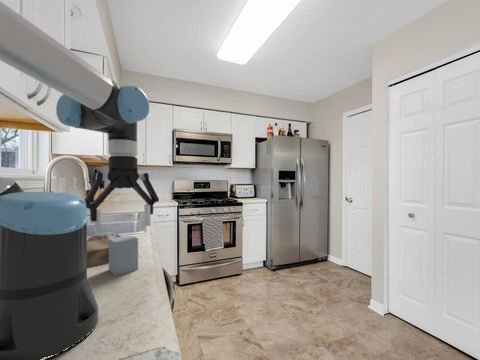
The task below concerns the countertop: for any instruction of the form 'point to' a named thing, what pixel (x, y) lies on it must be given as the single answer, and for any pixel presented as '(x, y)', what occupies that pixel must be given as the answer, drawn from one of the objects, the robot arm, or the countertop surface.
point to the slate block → (123, 254)
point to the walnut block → (98, 252)
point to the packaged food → (103, 236)
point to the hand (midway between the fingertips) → (124, 229)
